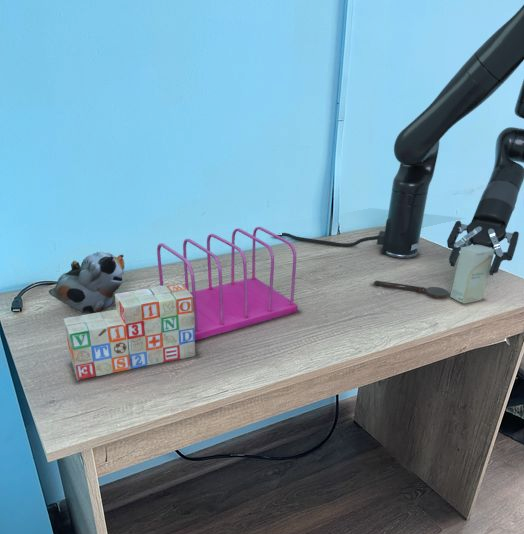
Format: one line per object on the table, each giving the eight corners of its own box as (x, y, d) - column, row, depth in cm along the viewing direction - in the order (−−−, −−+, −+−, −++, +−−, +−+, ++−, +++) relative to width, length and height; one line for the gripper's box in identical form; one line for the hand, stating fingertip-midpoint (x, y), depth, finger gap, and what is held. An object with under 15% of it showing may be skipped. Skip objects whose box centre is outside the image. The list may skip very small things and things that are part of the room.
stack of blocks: (77, 381, 90) (65, 317, 84) (71, 363, 95) (59, 301, 88) (196, 355, 98) (193, 295, 92) (185, 340, 103) (182, 281, 97)
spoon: (372, 289, 126) (372, 284, 125) (375, 281, 130) (375, 276, 129) (447, 300, 121) (448, 295, 121) (447, 291, 126) (448, 287, 125)
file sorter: (157, 307, 115) (151, 237, 107) (254, 284, 127) (256, 219, 119) (193, 342, 102) (190, 266, 94) (297, 312, 114) (302, 242, 106)
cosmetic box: (463, 304, 120) (475, 253, 113) (449, 297, 123) (460, 246, 117) (483, 299, 122) (496, 249, 116) (468, 292, 125) (480, 243, 119)
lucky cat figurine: (75, 286, 123) (98, 233, 119) (119, 312, 122) (143, 260, 118) (36, 295, 109) (61, 234, 104) (86, 324, 108) (112, 265, 104)
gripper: (463, 192, 120) (438, 254, 118) (530, 202, 113) (505, 269, 111) (464, 210, 127) (440, 269, 124) (528, 220, 120) (504, 284, 118)
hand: (471, 269), depth 118 cm, fingers open, 8 cm apart
